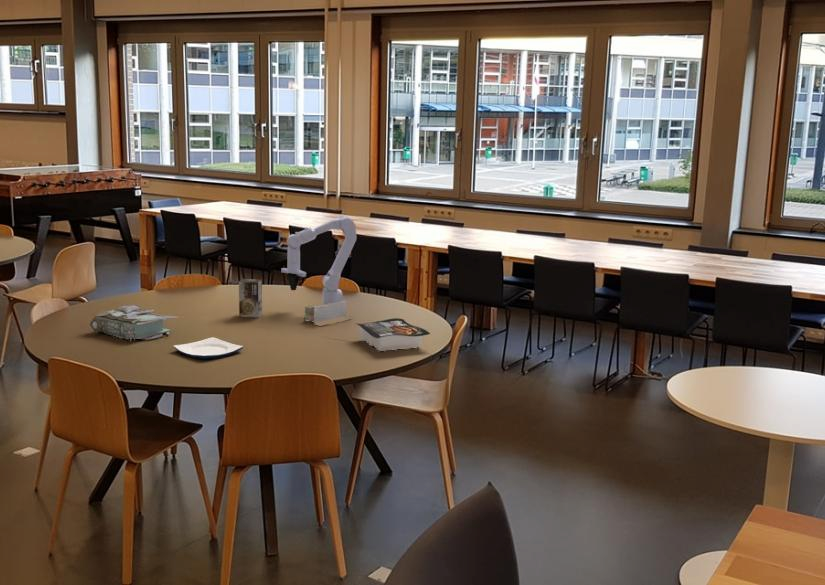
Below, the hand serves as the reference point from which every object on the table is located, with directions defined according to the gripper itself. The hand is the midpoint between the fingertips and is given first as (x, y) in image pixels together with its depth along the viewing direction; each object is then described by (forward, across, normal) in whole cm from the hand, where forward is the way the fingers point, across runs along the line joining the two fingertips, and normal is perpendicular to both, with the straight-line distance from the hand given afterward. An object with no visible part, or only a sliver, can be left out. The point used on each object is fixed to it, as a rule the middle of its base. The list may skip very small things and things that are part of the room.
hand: (293, 289), depth 387 cm
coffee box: (+10, -4, -22) cm, 24 cm away
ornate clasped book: (+10, -12, -76) cm, 77 cm away
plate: (+10, +30, -71) cm, 78 cm away
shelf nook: (+9, +23, -3) cm, 25 cm away
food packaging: (+10, +70, -12) cm, 72 cm away
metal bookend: (+9, +29, -4) cm, 31 cm away
